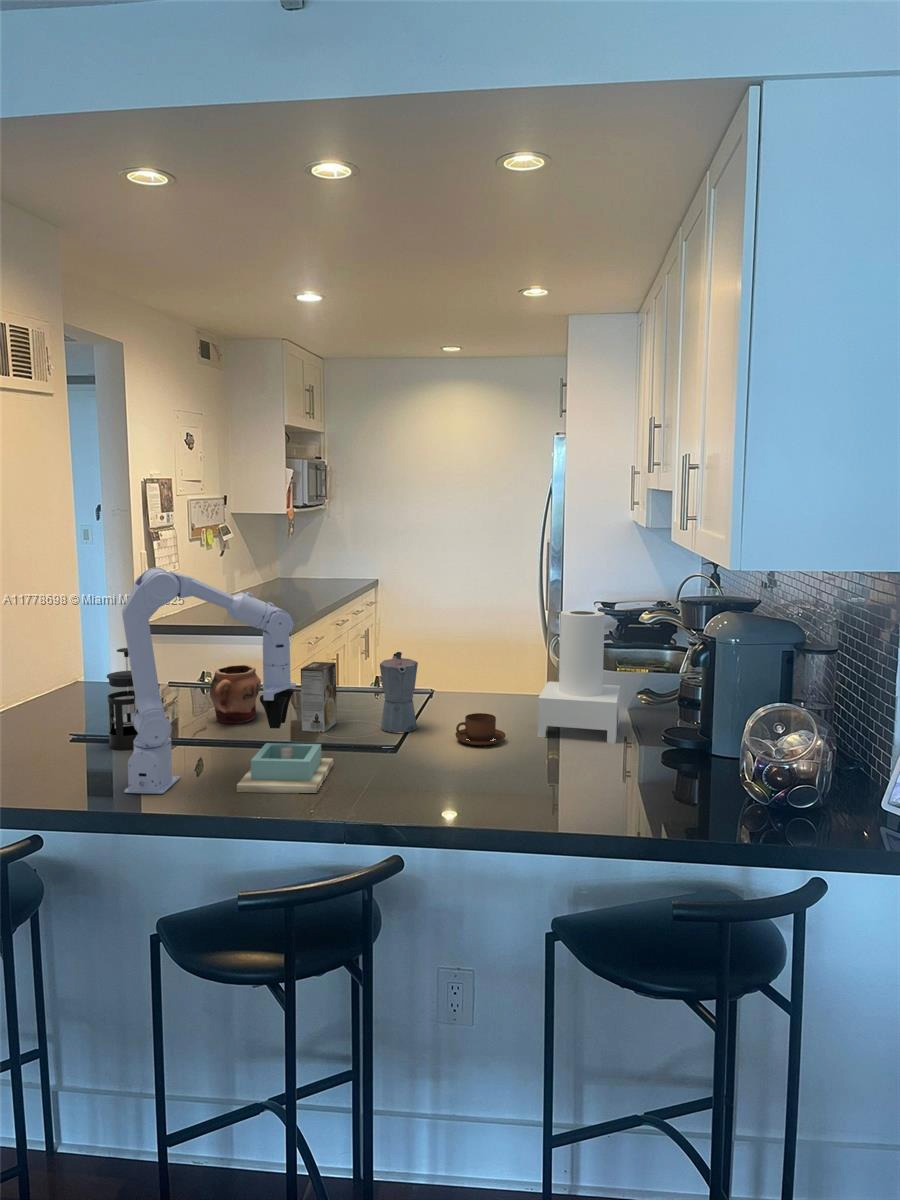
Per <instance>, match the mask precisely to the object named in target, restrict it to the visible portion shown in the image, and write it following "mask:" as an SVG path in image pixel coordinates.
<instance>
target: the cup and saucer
mask: <svg viewBox="0 0 900 1200" xmlns="http://www.w3.org/2000/svg"><path fill="white" fill-rule="evenodd" d="M464 720H465V721H461V722H459V723H458V724H457V725H456V727H455V729H456V732H455V738H456V739H458V741H460V742H461V743H464V744H466V745H467V744H468V745H472V746H482V745H483V746H492V745H495V744H499V743H501V742H502V741H503V740H504V739H505V738H506V733H505V732H504V731H502V730H500V729H496V728H497V727H496V725H497V724H496V723H497V722H496V721H497V718H496V716H495V715H494V714H491V713H485V712H484V713H483V712H480V713H479V712H478V713H476V712H475V713H469V714H467V715H465V718H464ZM461 726H465V727H464V728H463V729H460V727H461ZM493 738H494V739H496V740H494V741H490V740H492V739H493ZM466 739H469V740H470V741H469V740H466Z"/></svg>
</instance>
